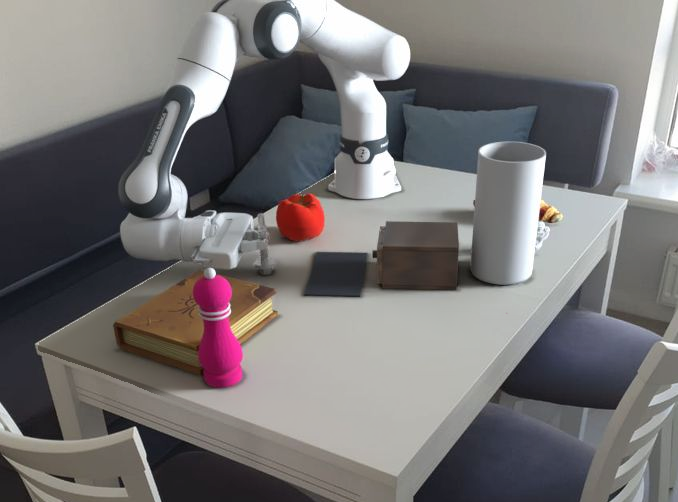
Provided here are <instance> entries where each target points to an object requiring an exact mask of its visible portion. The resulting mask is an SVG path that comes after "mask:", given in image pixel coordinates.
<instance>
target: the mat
mask: <svg viewBox="0 0 678 502" xmlns="http://www.w3.org/2000/svg"><path fill="white" fill-rule="evenodd" d="M367 258H368V252H346V251H345V252H344V251H343V252H342V251H317V252H316V254H315V257H314V260H313V264H312V267H311V271H310V274H309V276H308V282H307V285H306V288H305V291H304V296H306V297H309V296H310V297H311V296H312V297H353V298H360V297H361V295H362V288H363V283H364V278H365V277H364V276H365V271H366V265H367Z"/></svg>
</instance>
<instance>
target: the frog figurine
mask: <svg viewBox="0 0 678 502" xmlns="http://www.w3.org/2000/svg"><path fill="white" fill-rule="evenodd" d="M550 232H551V229H550V228H549V226H548V225H546V224H545V222H543V221H538V227H537V235H536V244H535V252H534V253H536V252H537V251H539V250H540V249H541V248H542V245H543V242H544V241H545V240H547V238H548V237H549V236H550Z"/></svg>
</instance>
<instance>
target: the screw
mask: <svg viewBox="0 0 678 502" xmlns="http://www.w3.org/2000/svg"><path fill="white" fill-rule="evenodd" d="M267 230H268V228H267V225H266V222H265V214H264V213H262V212H260V213H258V214H257V231H258V232H259V233H258V235H259V236H258V237H259V239H265V240H266V244H267V246H266V248H265V250H258V251H259V258H257V259H255V260H254V261H253V263H252V266H253V267H254V269H257V270H258V273H259V275H263V276H267V275H271V274H272V272H273V269H274V268H275V267H277V264H278V261H277V260H276V259H274V258H272V257H270V255H269V245H268V243H269V241H268V240H267V234H266V233H268V231H267ZM267 241H268V242H267Z"/></svg>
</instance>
